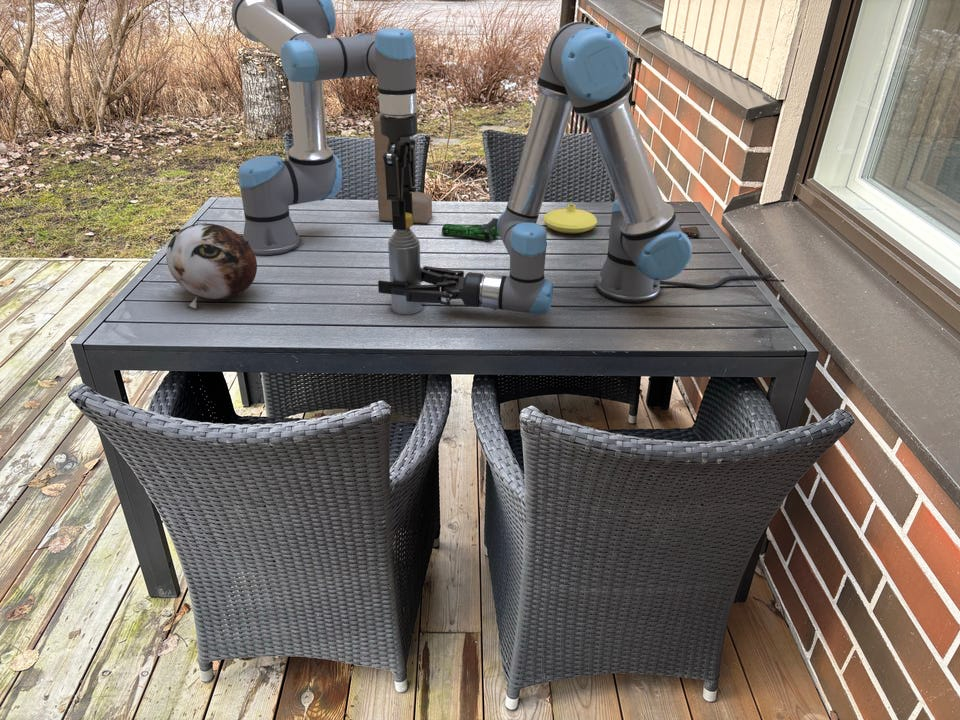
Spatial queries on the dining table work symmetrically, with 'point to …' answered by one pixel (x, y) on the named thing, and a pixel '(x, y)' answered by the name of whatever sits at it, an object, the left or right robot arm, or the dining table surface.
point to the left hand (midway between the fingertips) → (403, 225)
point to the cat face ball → (211, 261)
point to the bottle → (404, 267)
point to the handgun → (473, 230)
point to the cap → (409, 220)
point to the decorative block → (419, 200)
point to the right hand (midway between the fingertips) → (384, 279)
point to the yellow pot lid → (570, 220)
